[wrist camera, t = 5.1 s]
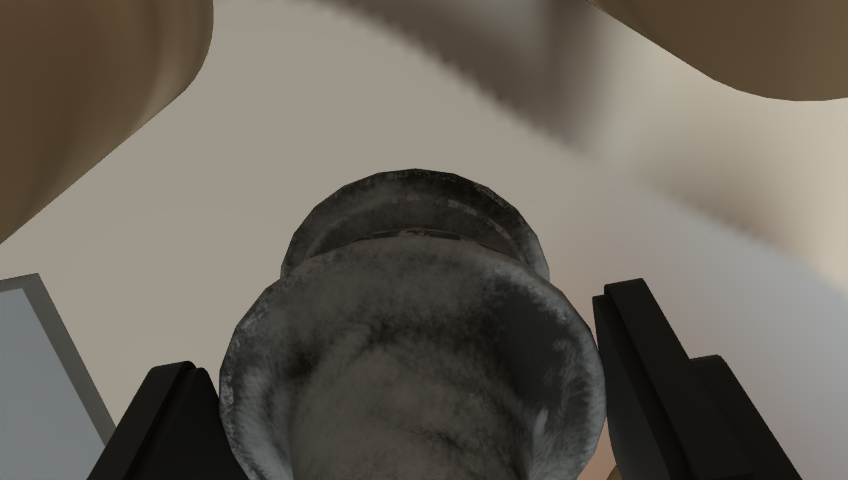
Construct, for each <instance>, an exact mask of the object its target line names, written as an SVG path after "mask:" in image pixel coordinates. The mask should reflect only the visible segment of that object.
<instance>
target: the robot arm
mask: <svg viewBox="0 0 848 480" xmlns="http://www.w3.org/2000/svg"><path fill="white" fill-rule="evenodd" d="M592 300H593V301H592V302H593V311H594V319H595V326H596V335H597V342H598V351H599V354H600V357H601V360H602V364H603V371H604V378H605V387H606V397H607V421H608V429H609V436H610V441H611V446H612V450H613V454H614V457H615V461H616V464H617V466H618V469H619V472H620V475H621V478H622V480H802V479H801V477H800V475H799V474H798V472H797V471H796V469H795V468H794V466H793V465H792V463H791V461H790V460H789V458H788V457H787V455H786V454H785V452H784V451H783V449H782V448H781V446H780V445H779V443H778V441H777V440H776V438H775V437H774V435H773V434H772V432H771V431H770V429H769V428H768V426H767V425H766V423H765V422H764V420H763V418H762V417H761V415H760V414H759V412H758V411H757V409H756V408H755V406H754V405H753V403H752V402H751V400H750V398H749V397H748V395H747V394H746V392H745V391H744V389H743V388H742V386H741V385H740V383H739V382H738V380H737V378H736V377H735V375H734V374H733V372H732V371H731V369H730V368H729V366H728V365H727V363H726V362H725V361H724V360H723V358H722V357H721V356H719V355H711V356H705V357H699V358H693V359H689V357H688V356H687V354H686V352H685V350H684V349H683V347H682V345H681V343H680V342H679V340H678V338H677V336H676V335H675V333H674V331H673V330H672V328H671V326H670V324H669V323H668V321H667V319H666V317H665V316H664V314H663V312H662V310H661V309H660V307H659V305H658V303H657V302H656V300H655V298H654V297H653V295H652V293H651V291H650V290H649V288H648V286H647V284H646V283H645V281H644V280H643V279H642V278H639V279H633V280H628V281H622V282H617V283H611V284H606V285H605V286H604V295H599V296H593V298H592ZM87 480H250V479H249V478H248V476H247V475H246V473H245V472H244V470H243V469H242V467H241V466H240V464H239V463H238V461H237V459H236V458H235V456H234V455H233V453H232V450H231V447H230V444H229V442H228V439H227V436H226V433H225V430H224V428H223V425H222V421H221V418H220V415H219V398H218V395H217V393H216V390H215V388H214V386H213V383H212V381H211V378H210V376H209V374H208V372H207V371H206V370H205V369H204V368H202V367H201V368H196V367H195V365H194V364H193V363H192V362H190V361H183V362H178V363H172V364H167V365H161V366H156V367H153V368H152V369H151V370H150V371H149V372H148V374H147V376H146V377H145V379H144V381H143V383H142V385H141V386H140V388H139V390H138V391H137V393H136V395H135V396H134V398H133V400H132V402H131V404H130V405H129V407H128V409H127V410H126V412H125V414H124V416H123V417H122V419H121V421H120V422H119V424H118V426H117V428H116V429H115V431H114V433H113V435H112V436H111V438H110V440H109V441H108V443H107V445H106V447H105V448H104V450H103V452H102V454H101V455H100V457H99V459H98V461H97V462H96V464H95V466H94V467H93V469H92V471H91V473H90V474H89V476H88V478H87Z"/></svg>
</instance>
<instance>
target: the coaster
mask: <svg viewBox="0 0 848 480" xmlns="http://www.w3.org/2000/svg"><path fill="white" fill-rule="evenodd" d="M115 429H116V426H115V424H114V422H113V421H112V418H111V416H110V414H109V412H108V410H107V408H106V406H105V405H104V402H103V400H102V399H101V397H100V395H99V393H98V391H97V389H96V387H95V385H94V383H93V381H92V379H91V377H90V375H89V373H88V371H87V369H86V367H85V365H84V363H83V361H82V359H81V357H80V355H79V353H78V351H77V349H76V347H75V345H74V343H73V341H72V339H71V337H70V335H69V333H68V331H67V329H66V327H65V326H64V324H63V322H62V320H61V318H60V316H59V314H58V312H57V310H56V308H55V306H54V304H53V302H52V300H51V298H50V296H49V294H48V292H47V290H46V288H45V286H44V284H43V282H42V280H41V278H40V276H39V274H38V273H35V274H30V275H25V276H19V277H14V278H10V279H4V280H0V480H87V478H88V476H89V474H90V473H91V471H92V469H93V467H94V466H95V464H96V462H97V461H98V459H99V457H100V455H101V454H102V452H103V450H104V448H105V447H106V445H107V443H108V441H109V440H110V438H111V436H112V435H113V433H114V431H115Z"/></svg>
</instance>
